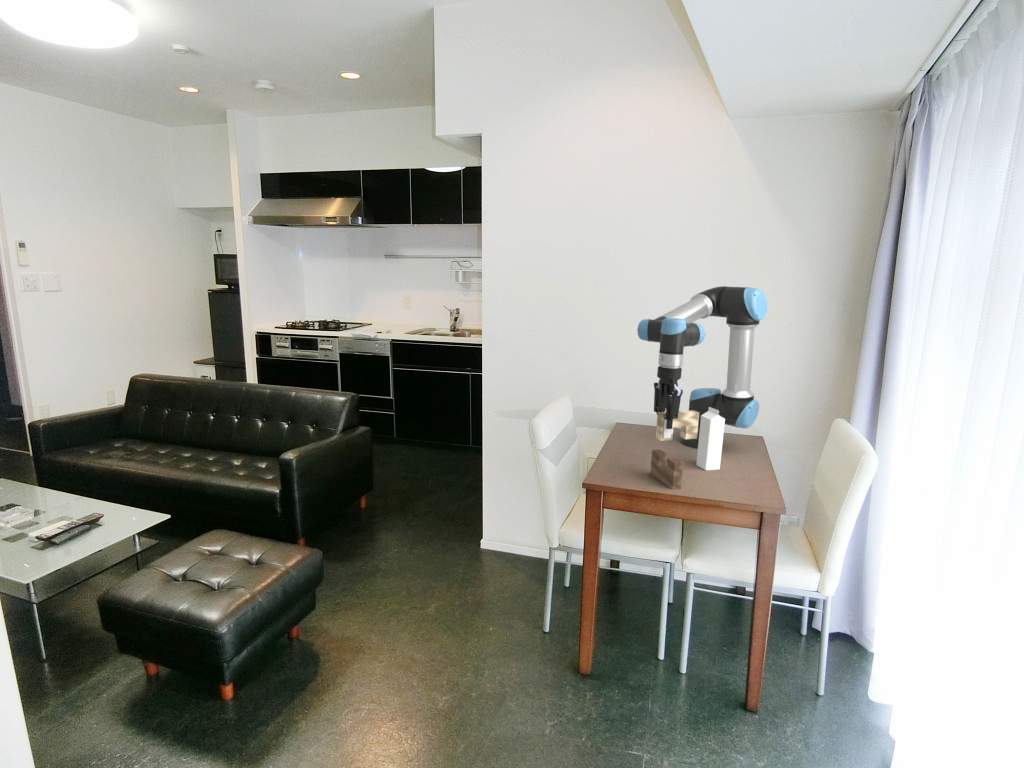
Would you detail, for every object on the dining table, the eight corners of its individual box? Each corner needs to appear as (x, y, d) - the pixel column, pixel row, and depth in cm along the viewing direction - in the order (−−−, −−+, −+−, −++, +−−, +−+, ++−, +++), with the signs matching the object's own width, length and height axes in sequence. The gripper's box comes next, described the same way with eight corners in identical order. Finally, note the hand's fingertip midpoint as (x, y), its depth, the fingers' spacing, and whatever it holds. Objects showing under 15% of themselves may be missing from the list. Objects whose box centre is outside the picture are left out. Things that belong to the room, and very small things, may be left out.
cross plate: (691, 436, 199) (694, 410, 198) (696, 438, 197) (699, 412, 195) (655, 438, 195) (657, 412, 193) (660, 440, 192) (662, 414, 190)
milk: (705, 470, 210) (711, 411, 206) (695, 465, 216) (701, 407, 211) (720, 469, 212) (726, 410, 207) (710, 463, 218) (715, 406, 213)
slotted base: (657, 473, 205) (659, 449, 204) (680, 488, 192) (682, 462, 191) (650, 474, 204) (652, 449, 203) (672, 489, 191) (674, 462, 190)
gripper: (646, 362, 196) (640, 430, 200) (674, 370, 181) (667, 444, 185) (666, 362, 198) (660, 429, 203) (694, 370, 183) (687, 442, 188)
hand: (663, 436), depth 194 cm, fingers closed on cross plate, 3 cm apart
